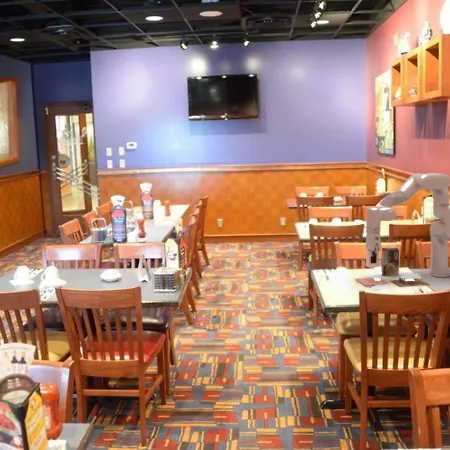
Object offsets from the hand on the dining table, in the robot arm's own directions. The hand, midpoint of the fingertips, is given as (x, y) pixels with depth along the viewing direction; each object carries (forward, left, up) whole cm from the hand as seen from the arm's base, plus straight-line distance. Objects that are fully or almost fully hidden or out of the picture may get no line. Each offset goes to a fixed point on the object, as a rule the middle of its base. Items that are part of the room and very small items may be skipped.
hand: (372, 262), depth 335 cm
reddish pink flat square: (0, 0, -12) cm, 12 cm away
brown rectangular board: (-18, +8, -12) cm, 23 cm away
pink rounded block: (0, 0, -2) cm, 2 cm away
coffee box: (-16, -11, -12) cm, 23 cm away
